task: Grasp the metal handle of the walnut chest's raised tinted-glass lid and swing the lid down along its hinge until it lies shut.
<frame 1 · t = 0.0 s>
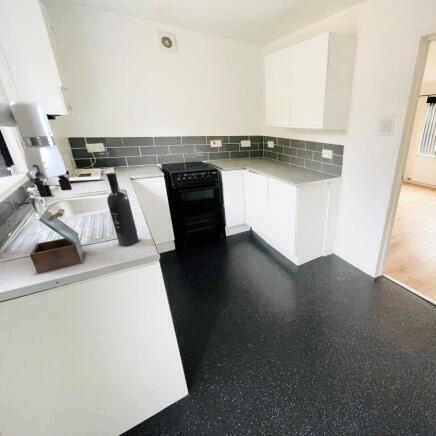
hand: (57, 193, 86), 25 cm above the countertop, tool pointing down, fingers open, 9 cm apart
lid: (66, 223, 87), point 15 cm above the countertop, hinge at 60.0°
wine bottle: (129, 244, 104), on the countertop
chest: (63, 263, 89), on the countertop
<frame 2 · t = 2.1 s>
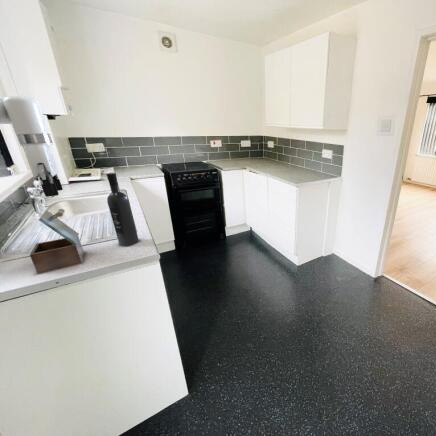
hand: (54, 193, 83), 26 cm above the countertop, tool pointing down, fingers open, 9 cm apart
nothing on the countertop moved.
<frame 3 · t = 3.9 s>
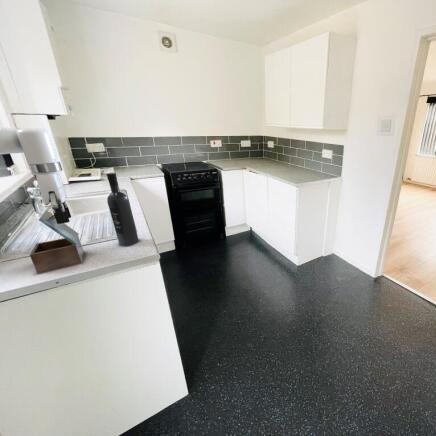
hand: (64, 220, 86), 16 cm above the countertop, tool pointing down, fingers closed on lid, 5 cm apart
lid: (66, 223, 87), point 15 cm above the countertop, hinge at 60.0°, touching gripper
everything else where it was.
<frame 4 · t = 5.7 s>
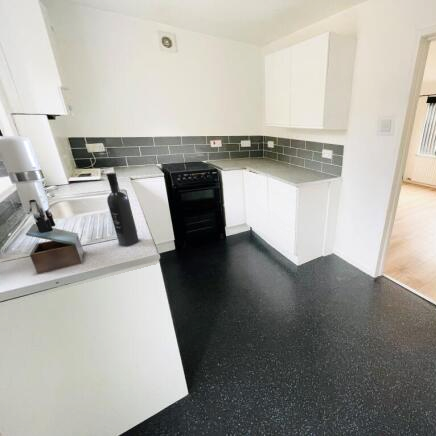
hand: (48, 228, 84), 14 cm above the countertop, tool pointing down, fingers closed on lid, 5 cm apart
lid: (56, 228, 85), point 13 cm above the countertop, hinge at 32.2°, touching gripper
everything else where it was.
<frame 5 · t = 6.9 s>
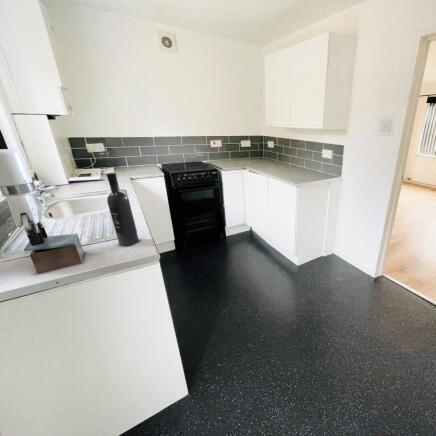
hand: (40, 240, 84), 10 cm above the countertop, tool pointing down, fingers closed on lid, 5 cm apart
lid: (52, 236, 85), point 11 cm above the countertop, hinge at 6.8°, touching gripper
everything else where it was.
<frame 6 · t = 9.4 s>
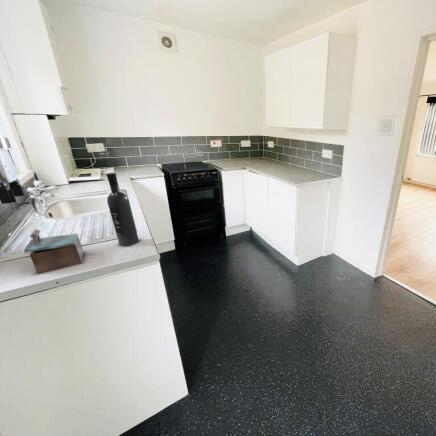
hand: (13, 199, 80), 25 cm above the countertop, tool pointing down, fingers open, 9 cm apart
lid: (52, 236, 85), point 11 cm above the countertop, hinge at 4.9°
everything else where it was.
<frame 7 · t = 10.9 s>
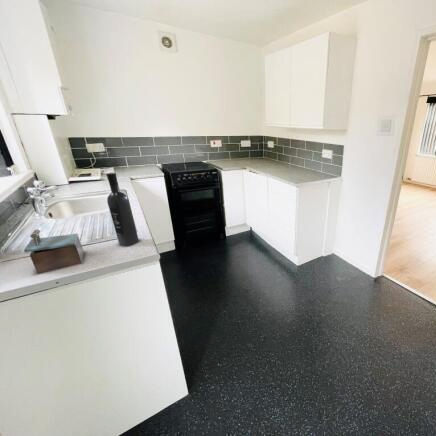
nothing on the countertop moved.
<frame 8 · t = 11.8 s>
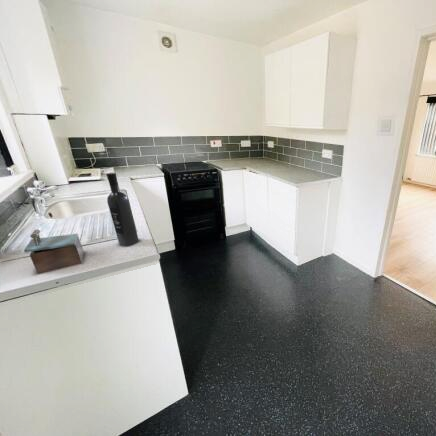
nothing on the countertop moved.
at the end: lid at +5° (first picture: +60°); lid reached +60° during the clip, +5° at the end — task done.
